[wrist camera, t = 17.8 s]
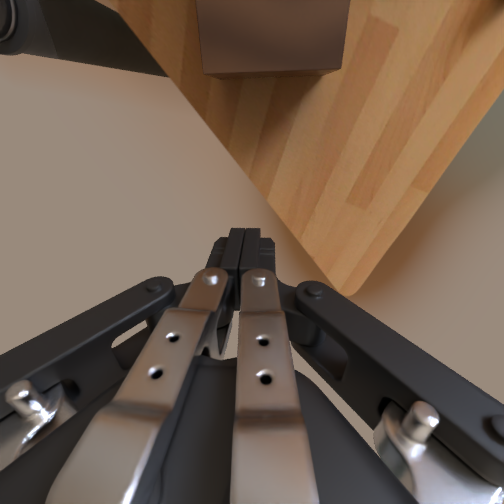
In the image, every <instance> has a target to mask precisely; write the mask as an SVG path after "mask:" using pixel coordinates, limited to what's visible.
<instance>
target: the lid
mask: <svg viewBox="0 0 504 504" xmlns="http://www.w3.org/2000/svg"><path fill="white" fill-rule="evenodd" d="M349 6H350V0H196V9H197V19H198V28H199V38H200V47H201V57H202V66H203V74H205V75H210V74H236V73H263V72H289V71H315V70H339V69H341V66H342V59H343V51H344V44H345V36H346V29H347V21H348V13H349Z"/></svg>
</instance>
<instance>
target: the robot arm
mask: <svg viewBox="0 0 504 504" xmlns="http://www.w3.org/2000/svg"><path fill="white" fill-rule="evenodd" d="M17 25H18V9H17V4H16V0H0V42H4V41H7V40H9V39H10V38H11V37H12V36H13V35H14V33H15V31H16V28H17ZM240 306H241V312H239V329H238V330H239V331H238V353H237V354H238V355H237V357H236V358H231V359H226V360H223V358H224V355H225V351H226V347H227V343H228V339H229V335H230V332H231V328H232V318H233V312H234V311H240ZM144 320H146V323H147V327H146V328H144V329H143V330H141V331H140V332H138V333H136V334H135V335H133V336H132V337H130V338H129V339H127V340H126V341H124V342H122V343H121V344H119V345H118V346H116V347H114V348H111V346H112V343H113V341H114V340H115V339H116V338H117V337H118V336H120V335H121V334H123V333H125V332H126V331H128V330H129V329H131V328H133V327H134V326H136V325H137V324H139V323H141V322H142V321H144ZM289 341H291V344H292V346H293V348H294V349H295V350H296V351H297V352H298V353H299V354H300V356H301V357H303V359H305V360H306V362H307V363H308V364H309V365H310V366H311V367H312V368H313V369H314V370H315V371H316V372H317V373H318V374H319V375H320V376H321V377H322V378H323V379H324V380H325V381H326V382H327V383H328V384H329V385H330V386H331V387H332V388H333V390H335V392H336V393H337V394H338V395H339V396H340V397H341V398H342V399H343V400H344V401H345V402H346V403H347V404H348V405H349V406H350V407H351V408H352V409H353V410H354V411H355V412H356V413H357V414H358V415H359V416H360V417H361V418H362V419H363V420H364V421H365V422H366V423H367V425H369V427H370V428H371V429H372V430H373V431H374V434H373V436H374V437H373V439H374V444H375V448H376V450H377V452H378V454H379V456H380V457H379V456H378V455H377V454H376V453H375V452H374V450H373V449H372V448H371V447H370V446H369V445H368V444H367V442H366V441H365V440H364V439H363V438H362V437H361V436H360V435H359V433H358V432H357V431H356V430H355V429H354V427H353V426H352V425H351V424H350V423H349V422H348V421H347V420H346V418H345V417H344V416H343V415H342V414H341V413H340V412H339V410H338V409H337V408H336V407H335V406H334V405H333V403H332V402H331V401H330V400H329V399H328V398H327V396H326V395H325V394H324V393H323V392H322V391H321V390H320V389H319V387H318V386H317V385H316V384H314V383H313V382H312V381H311V380H310V379H309V378H307V377H306V376H305V375H303V374H302V373H300V372H298V371H296V370H294V365H293V359H292V353H291V347H290V342H289ZM381 459H382V460H381ZM503 499H504V405H503V404H502V403H500V402H499V401H498V400H496V399H494V398H493V397H492V396H490V395H489V394H487V393H485V392H484V391H483V390H481V389H480V388H478V387H477V386H475V385H474V384H472V383H471V382H469V381H468V380H466V379H465V378H464V377H462V376H461V375H459V374H457V373H456V372H455V371H453V370H452V369H450V368H448V367H447V366H446V365H444V364H443V363H441V362H440V361H438V360H437V359H435V358H434V357H432V356H431V355H429V354H428V353H426V352H425V351H423V350H422V349H420V348H419V347H418V346H416V345H414V344H413V343H412V342H410V341H409V340H407V339H406V338H404V337H403V336H401V335H400V334H398V333H397V332H395V331H394V330H392V329H391V328H390V327H388V326H387V325H385V324H384V323H382V322H381V321H379V320H378V319H376V318H375V317H373V316H372V315H370V314H369V313H367V312H365V311H364V310H363V309H361V308H360V307H358V306H357V305H355V304H354V303H352V302H351V301H350V300H348V299H347V298H345V297H344V296H342V295H341V294H339V293H338V292H336V291H335V290H333V289H332V288H330V287H329V286H327V285H325V284H324V283H321V282H318V281H305V282H302V283H300V284H299V285H298V286H297V287H292V286H288V285H286V284H284V283H282V282H280V281H279V280H278V278H277V277H276V273H275V243H274V242H273V240H272V239H271V238H260V228H246V229H245V228H231V230H230V233H229V236H228V237H220V238H219V239H218V240H217V241H216V242H215V243H214V246H213V249H212V251H211V254H210V256H209V259H208V262H207V264H206V267H205V269H203V270H201V271H199V272H198V273H196V275H195V276H194V278H193V280H192V282H189V283H185V284H180V285H175V286H174V285H173V281H172V280H171V279H170V278H167V277H162V276H160V277H153V278H150V279H147V280H145V281H144V282H141V283H139V284H138V285H136V286H133V287H132V288H130V289H128V290H126V291H124V292H122V293H120V294H118V295H116V296H115V297H112V298H110V299H109V300H106V301H104V302H102V303H101V304H99V305H97V306H95V307H93V308H91V309H89V310H87V311H85V312H83V313H81V314H79V315H77V316H75V317H74V318H72V319H70V320H68V321H66V322H64V323H62V324H60V325H58V326H56V327H54V328H52V329H50V330H48V331H46V332H45V333H42V334H40V335H39V336H37V337H35V338H33V339H31V340H29V341H27V342H25V343H23V344H21V345H19V346H17V347H15V348H13V349H11V350H9V351H8V352H6V353H4V354H2V355H0V504H501V503H502V501H503Z"/></svg>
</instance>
